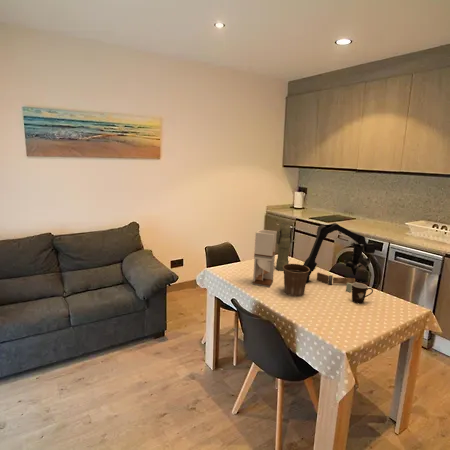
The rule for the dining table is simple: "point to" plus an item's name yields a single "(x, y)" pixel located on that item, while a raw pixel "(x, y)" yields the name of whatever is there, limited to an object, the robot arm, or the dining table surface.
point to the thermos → (283, 245)
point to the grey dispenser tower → (264, 258)
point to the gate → (343, 280)
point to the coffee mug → (359, 292)
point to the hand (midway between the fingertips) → (354, 275)
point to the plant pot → (295, 279)
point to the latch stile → (349, 287)
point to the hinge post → (324, 278)
